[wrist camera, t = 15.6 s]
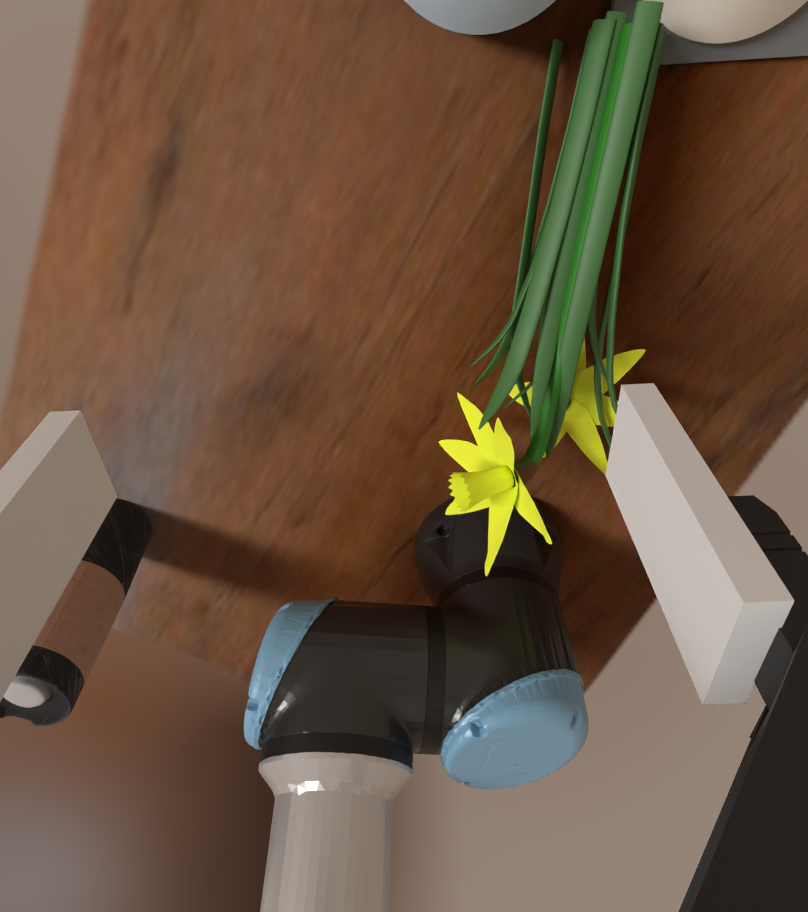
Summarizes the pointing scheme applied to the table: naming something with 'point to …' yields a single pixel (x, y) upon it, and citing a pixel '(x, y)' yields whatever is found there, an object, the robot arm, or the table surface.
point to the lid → (724, 18)
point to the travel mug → (79, 621)
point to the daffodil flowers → (566, 277)
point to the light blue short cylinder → (479, 14)
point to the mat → (788, 38)
